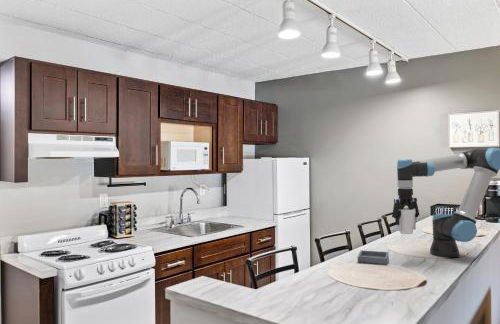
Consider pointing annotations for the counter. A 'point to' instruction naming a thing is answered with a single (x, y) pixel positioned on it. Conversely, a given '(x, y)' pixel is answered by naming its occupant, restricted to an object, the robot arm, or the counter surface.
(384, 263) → the bin
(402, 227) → the foam cup
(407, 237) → the counter surface
